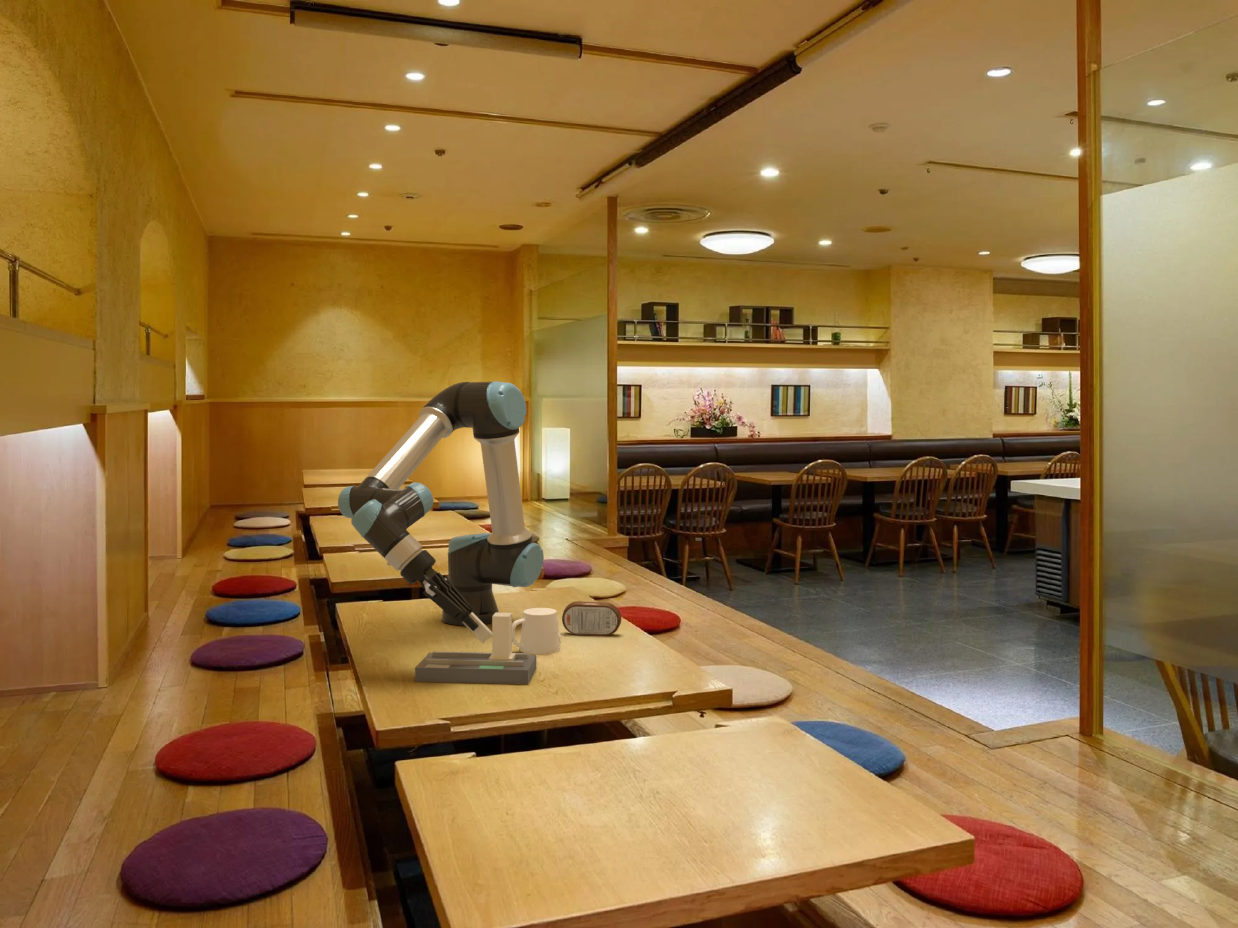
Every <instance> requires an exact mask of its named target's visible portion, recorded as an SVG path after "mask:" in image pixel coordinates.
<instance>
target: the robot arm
mask: <svg viewBox="0 0 1238 928" xmlns="http://www.w3.org/2000/svg"><path fill="white" fill-rule="evenodd" d="M526 416H527V403H526V400H525V397H524V395H523V393H522V391H521V390H520V388H518V387H517V385H515V384H513V383H512V382H506V381H505V382H503V381H498V380H495V381H462V382H458V383H454V384H452V385H450V386H448V387H446V388H445V389H443V390H441V391H440V392H439V393H437V394H436V395H435V396H433V397H432V398H431V399H430V400H429V401H427V403H426V404H425V405H424V406H423V407H422V408H421V409H420V410H419V412H418V419H417V420H416V421H415V422H414V423H413V424H412V425H411V427H410V428H409V429H408V430H407V431H405V433H404V434H403V435H402V436H401V438H400V439H399V440H398V441H397V442H396V444H395V445H394V446H393V447H392V448H391V449H390V450H388V452H387V453H386V455H385V456H384V457H383V458H382V459H381V460H380V461H379V462H378V464H377V465H376V466H375V467H374V468H373V469H372V470H371V471H370V472H369V473H368V475H367V476H366V477H365V478H364V479H363V480H362V481H361V483H359V484H358V485H351V486H346V487H345V488H343V489H342V490H341V491H340V493H339V495H338V498H337V508H338V510H339V512H340V513H341V515H342V516H343V517H345V518H348V519H351V520H350V522H351V523H350V524H351V525H352V527H353V528H354V529H355V530H356V531H357V533H359V535H360V537H361V538H363V539H364V540H365V542H367V543H368V544H369V545H370V546H371V547H373V549H374V550H375V551H376V552H378V554H379V555H380V556H381V557H382V558H384V559H385V561H387V563H386V565H387V566H389V567H392V568H393V569H395V571H400V572H399V574H400V576H401V577H402V578H403V579H404V580H405V581H406V583H408V584H409V585H411V586H412V585H414V584H415V583H417V582H418V583H419V585H420V586H421V588H422V589H423V592H422V594H423V595H424V596H425V597H426V598H428V599H429V600H431V601H432V602H433V603H435V605H436V606H438V608H440V609H441V610H442V613H441V621H442V622H443V623H446V624H449V625H455V626H465V627H466V628H467V629H468V630H469V631H470V632H471V633H472V634H473V635H474V636H475V637H476V638H477V639H478V640H479V641H480V642H481V643H482V644H485V642H486V641H488V640H489V639H490V638H492V631H491V629H490V628H489V627H488V626H487V624H492V616H493V615H494V614H495V613H500V611H499V607H498V604H497V601H496V598H495V596H494V592H493V585H499V586H506V587H512V588H528V587H531V586H532V585H533V584H534V583H535V582H537V580H538V578H539V577H540V574H541V572H542V570H543V566H544V551H543V548H542V546H541V545H540V544H538V543H536V542H533V535H532V532H531V530H529V529H528V528H526V525H525V524H526V523H525V515H524V510H523V509H524V508H523V501H522V492H521V491H522V490H521V483H520V476H519V475H520V474H519V468H518V460H517V459H518V458H517V450H516V442H515V439H516V437H517V436H518V435H519V434H520V428H521V427H522V426H523V425H524V423H525V421H526ZM462 428H463V429H465V428H467V429H468V428H469V429H472V433H473V434H472V435H473V439H474V440H476V441H477V442H478V443H480V448H481V457H482V465H483V471H484V479H485V480H484V481H485V486H486V487H485V488H486V493H487V503H488V509H489V519H490V526H491V527H490V528H491V533H490V532H484V533H483V532H482V533H481V532H480V533H473V534H472V533H471V534H465V535H457V536H454V537H452V538H451V539H450V540H448V551H447V559H448V560H447V564H448V565H447V566H448V570H447V571H448V573H447V574H448V576H447V575H446V574H442V573H440V572H438V571H437V570H435V569H434V568H433V566H434V565H435V563H436V561H437V560H436V559H435V558H434V556H432V554H430V552H428V550H427V549H423V545H422V543H420V542H419V541H418V540H417V538H415V537H414V536H413V535H412V534H411V533H410V532H409V531H408V530H407V529H409V528H410V527H411V526H412V525H413V524H415V523H417V522H418V521H419V520H420V519H422V518H423V517H425V515H426V514H427V513H428V512H429V511H430V510H431V509H433V507H434V501H435V500H434V497H433V494H432V492H431V490H430V488H428V486H426V485H425V484H423V483H421V482H416V481H415V482H411V483H410V484H408V485H405V487H404V488H401V487H402V486H403V485H404V484H405V482H406V481H407V480H408V479H409V478H410V476H411V475H412V474H413V473H414V472H415V471H416V470H417V469H418V467H419V466H420V465H421V464H422V463H423V461H424V460H425V458H427V457H428V456H429V455H430V453H431V452H432V450H433V449H435V447H436V446H437V445H438V444H439V442H441V440H442V439H446V438H449V437H450V436H451V435H452V433H453V432H455V431H456V430H458V429H462Z"/></svg>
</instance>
